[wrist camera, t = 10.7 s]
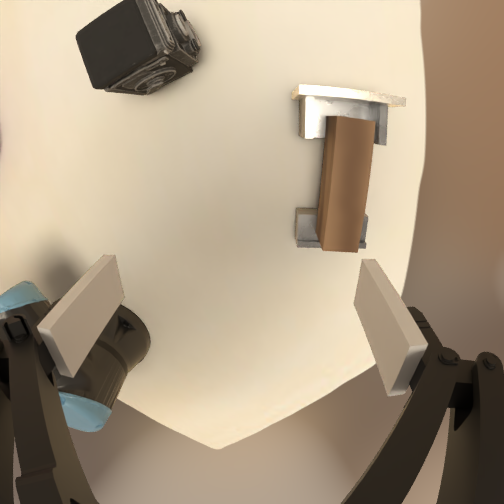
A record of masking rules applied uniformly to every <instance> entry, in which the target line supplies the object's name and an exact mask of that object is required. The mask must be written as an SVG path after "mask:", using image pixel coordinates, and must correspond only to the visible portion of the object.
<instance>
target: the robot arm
mask: <svg viewBox="0 0 504 504" xmlns="http://www.w3.org/2000/svg"><path fill="white" fill-rule="evenodd" d="M124 298H125V297H124V292H123V288H122V284H121V280H120V276H119V271H118V267H117V262H116V257H115V255H103V256H102V257H101V258H100V259H99V260H98V261H97V262H96V263H95V264H94V265H93V266H92V267H91V268H90V269H89V270H88V271H87V272H86V273H85V274H84V275H83V276H82V277H81V278H80V279H79V280H78V282H77V283H76V284H75V285H74V286H73V287H72V288H71V289H70V290H69V291H68V292H67V293H66V294H65V295H64V297H61V298H60V299H58V300H57V301H55V302H54V303H53V304H52V305H50V303H49V302H48V299H47V298H46V297H44V296H43V295H42V293H41V292H40V291H39V290H38V288H37V287H36V286H35V285H34V284H33V283H32V282H30V281H23V282H21V283H19V284H17V285H15V286H14V287H12V288H10V289H9V290H7V291H6V292H4V293H3V294H2V295H0V504H14V498H13V453H14V437H15V442H16V448H17V453H18V458H19V463H20V468H21V474H22V475H21V477H17V478H16V480H15V482H16V488H17V492H18V496H19V500H20V504H99V503H98V502H97V500H96V499H95V497H94V495H93V493H92V491H91V489H90V486H89V484H88V482H87V479H86V477H85V474H84V472H83V469H82V467H81V464H80V461H79V459H78V456H77V453H76V451H75V448H74V445H73V442H72V439H71V435H70V432H69V429H68V426H69V427H72V428H75V429H77V430H81V431H86V432H94V431H98V430H100V429H101V428H103V426H104V425H105V423H106V421H107V419H108V417H109V416H110V415H111V413H112V412H111V410H112V408H113V406H114V403H115V401H116V399H117V396H118V394H119V392H120V389H121V387H122V385H123V382H124V380H125V378H126V376H127V374H128V372H129V371H131V370H132V369H133V368H134V367H135V366H136V365H137V364H138V363H139V362H141V361H142V360H143V359H144V357H145V356H146V354H147V351H148V349H149V346H150V337H149V333H148V331H147V329H146V327H145V325H144V324H143V323H142V321H141V320H140V319H139V318H138V317H137V316H136V315H135V314H134V313H133V312H131V311H130V310H128V309H127V308H125V307H123V306H121V305H120V304H121V302H122V301H123V299H124ZM354 306H355V308H356V311H357V313H358V316H359V318H360V321H361V323H362V326H363V328H364V331H365V334H366V336H367V339H368V342H369V344H370V347H371V350H372V352H373V355H374V358H375V361H376V363H377V366H378V369H379V372H380V375H381V378H382V380H383V383H384V386H385V389H386V392H387V395H388V396H394V395H401V394H405V392H406V390H407V388H408V386H409V384H410V387H411V389H412V394H411V396H410V397H409V399H408V401H407V403H406V405H405V406H404V409H403V411H402V412H401V414H400V416H399V418H398V420H397V422H396V424H395V425H394V427H393V428H392V430H391V432H390V434H389V435H388V437H387V438H386V440H385V442H384V443H383V445H382V447H381V448H380V450H379V451H378V453H377V455H376V456H375V457H374V459H373V461H372V462H371V463H370V465H369V466H368V468H367V469H366V471H365V472H364V473H363V475H362V476H361V478H360V479H359V480H358V482H357V483H356V485H355V486H354V487H353V489H352V490H351V491H350V492H349V494H348V495H347V496H346V498H345V499H344V500H343V501H342V503H341V504H401V503H402V502H403V500H404V499H405V497H406V495H407V493H408V492H409V490H410V488H411V486H412V485H413V483H414V481H415V479H416V477H417V475H418V473H419V471H420V469H421V467H422V465H423V463H424V461H425V459H426V457H427V455H428V453H429V451H430V448H431V446H432V444H433V442H434V440H435V437H436V435H437V432H438V430H439V428H440V425H441V422H442V420H443V417H444V415H445V412H446V409H447V408H450V422H449V433H448V442H447V449H446V457H445V463H444V470H443V475H442V480H441V485H440V490H439V495H438V499H437V503H436V504H504V370H503V365H502V363H501V360H500V359H499V358H498V357H497V356H496V355H494V354H492V353H489V352H482V353H480V354H479V355H478V356H477V358H476V360H475V361H469V360H461V359H460V357H459V355H458V354H457V353H456V352H455V351H454V350H452V349H450V348H446V347H443V346H442V344H441V342H440V341H439V339H438V337H437V336H436V334H435V333H434V331H433V329H432V328H431V327H430V325H429V323H428V322H427V320H426V319H425V317H424V315H423V314H422V313H421V312H420V311H419V310H418V309H416V308H415V307H406V306H405V304H404V303H403V301H402V299H401V298H400V296H399V295H398V293H397V291H396V290H395V288H394V287H393V285H392V284H391V282H390V280H389V279H388V277H387V276H386V274H385V273H384V271H383V270H382V268H381V267H380V265H379V264H378V262H377V261H376V259H362V262H361V267H360V273H359V279H358V284H357V289H356V295H355V300H354Z"/></svg>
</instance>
